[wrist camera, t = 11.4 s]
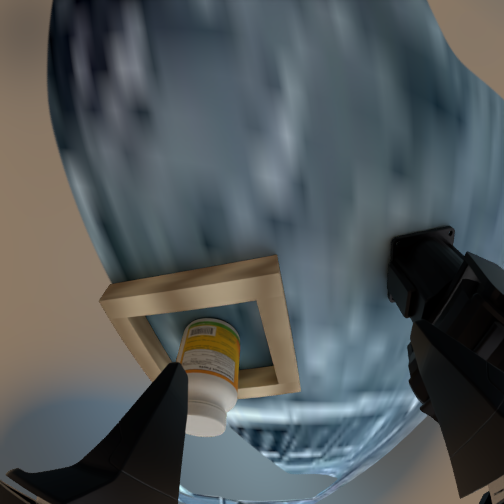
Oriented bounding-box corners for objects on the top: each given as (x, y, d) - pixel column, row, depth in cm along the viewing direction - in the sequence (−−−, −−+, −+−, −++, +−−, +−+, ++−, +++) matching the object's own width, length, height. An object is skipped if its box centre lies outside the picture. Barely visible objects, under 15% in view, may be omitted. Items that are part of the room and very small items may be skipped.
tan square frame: (277, 254, 21) (279, 272, 19) (298, 373, 28) (300, 391, 26) (109, 284, 23) (98, 301, 21) (171, 384, 30) (167, 401, 28)
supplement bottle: (219, 361, 27) (209, 445, 19) (174, 337, 26) (150, 423, 17) (252, 335, 25) (250, 428, 17) (203, 306, 24) (183, 402, 15)
